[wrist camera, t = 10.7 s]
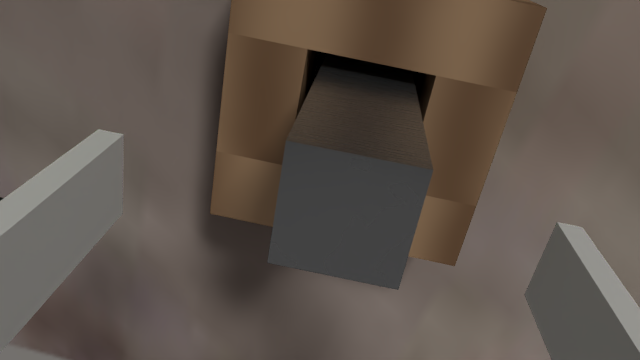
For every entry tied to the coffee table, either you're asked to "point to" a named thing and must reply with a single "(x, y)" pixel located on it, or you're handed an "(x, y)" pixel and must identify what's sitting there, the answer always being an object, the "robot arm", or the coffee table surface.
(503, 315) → the coffee table surface
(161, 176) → the coffee table surface
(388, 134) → the dark grey bar
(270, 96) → the wooden square frame
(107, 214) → the robot arm
